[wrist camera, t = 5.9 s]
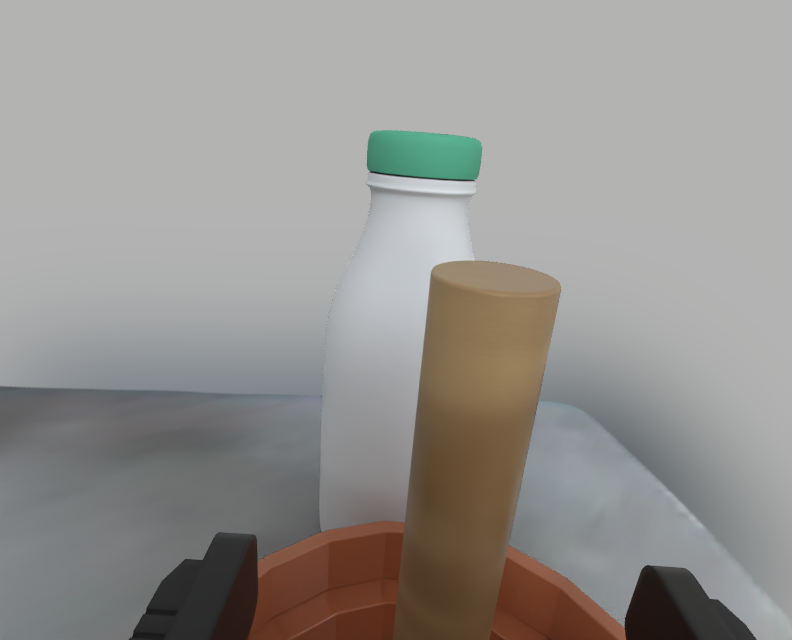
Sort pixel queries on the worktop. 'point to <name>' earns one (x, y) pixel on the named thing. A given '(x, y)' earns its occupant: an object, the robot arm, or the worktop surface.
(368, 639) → the bowl
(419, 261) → the milk bottle
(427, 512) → the stirring stick
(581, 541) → the worktop surface
